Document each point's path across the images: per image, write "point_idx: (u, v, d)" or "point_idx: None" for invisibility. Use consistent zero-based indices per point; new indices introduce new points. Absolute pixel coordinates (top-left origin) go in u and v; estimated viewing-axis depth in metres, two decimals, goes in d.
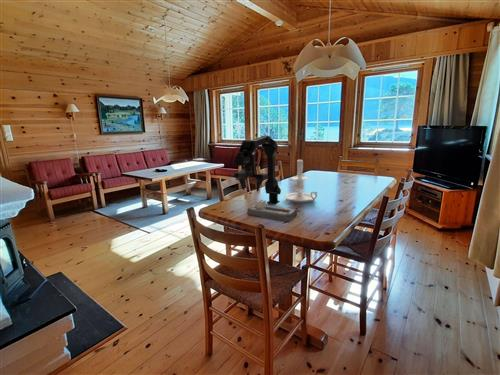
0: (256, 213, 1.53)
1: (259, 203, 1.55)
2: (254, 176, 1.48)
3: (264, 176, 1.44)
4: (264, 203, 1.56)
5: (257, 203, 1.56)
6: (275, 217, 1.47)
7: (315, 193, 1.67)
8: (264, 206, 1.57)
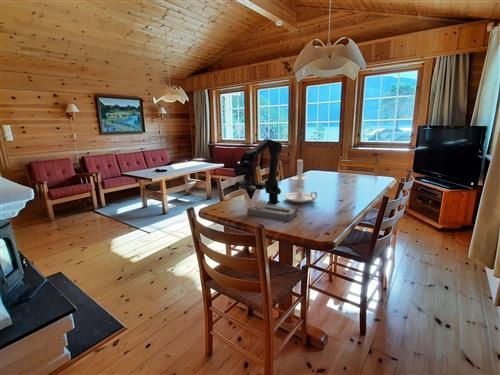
0: (256, 213, 1.53)
1: (259, 203, 1.55)
2: None
3: (263, 186, 1.53)
4: (264, 203, 1.56)
5: (257, 203, 1.56)
6: (275, 217, 1.47)
7: (315, 193, 1.67)
8: (264, 206, 1.57)
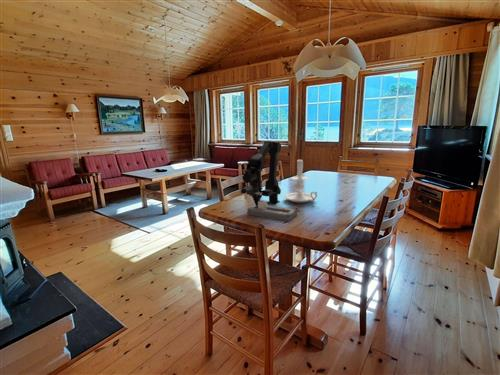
0: (256, 213, 1.53)
1: (261, 203, 1.54)
2: None
3: (270, 192, 1.51)
4: (266, 203, 1.56)
5: (259, 203, 1.55)
6: (275, 217, 1.47)
7: (315, 193, 1.67)
8: (266, 206, 1.56)
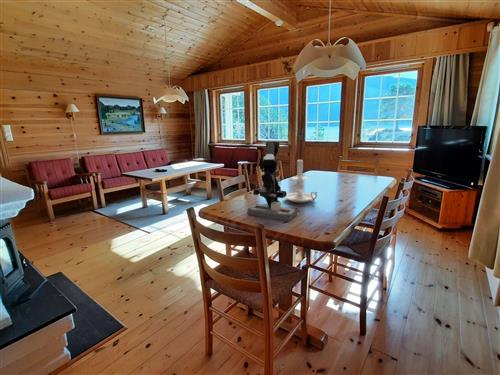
0: (256, 213, 1.53)
1: (274, 205, 1.50)
2: None
3: (284, 194, 1.47)
4: (279, 205, 1.51)
5: (272, 205, 1.51)
6: (275, 217, 1.47)
7: (315, 193, 1.67)
8: (279, 208, 1.52)
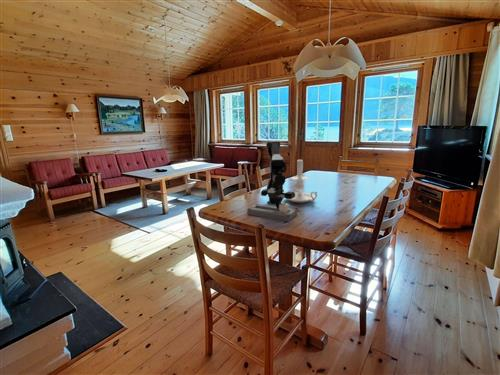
0: (256, 213, 1.53)
1: (282, 206, 1.47)
2: (282, 194, 1.48)
3: (292, 195, 1.44)
4: (287, 206, 1.49)
5: (280, 206, 1.48)
6: (275, 217, 1.47)
7: (315, 193, 1.67)
8: (287, 209, 1.49)
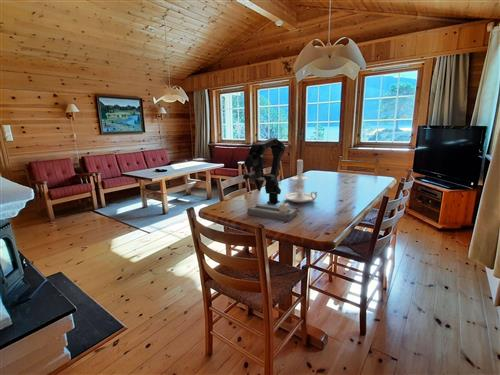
0: (256, 213, 1.53)
1: (282, 206, 1.47)
2: None
3: (272, 177, 1.54)
4: (288, 206, 1.49)
5: (280, 206, 1.48)
6: (275, 217, 1.47)
7: (315, 193, 1.67)
8: (287, 209, 1.49)
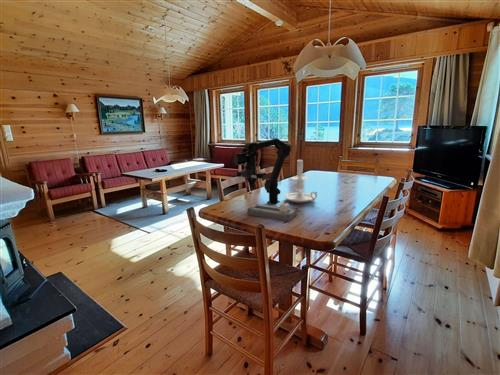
0: (256, 213, 1.53)
1: (282, 206, 1.47)
2: None
3: (263, 175, 1.60)
4: (288, 206, 1.49)
5: (280, 206, 1.48)
6: (275, 217, 1.47)
7: (315, 193, 1.67)
8: (287, 209, 1.49)
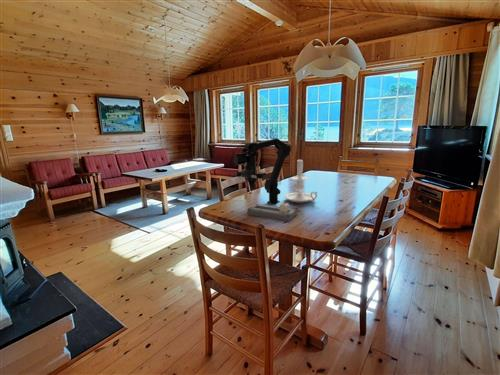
0: (256, 213, 1.53)
1: (282, 206, 1.47)
2: None
3: (263, 175, 1.60)
4: (288, 206, 1.49)
5: (280, 206, 1.48)
6: (275, 217, 1.47)
7: (315, 193, 1.67)
8: (287, 209, 1.49)
